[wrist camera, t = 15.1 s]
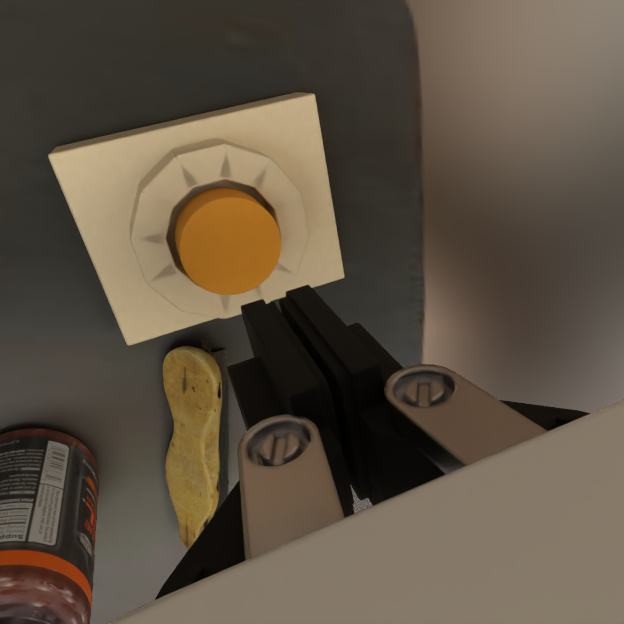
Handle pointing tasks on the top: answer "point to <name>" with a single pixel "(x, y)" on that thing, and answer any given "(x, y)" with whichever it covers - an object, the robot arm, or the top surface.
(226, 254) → the button
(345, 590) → the robot arm
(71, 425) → the top surface
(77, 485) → the supplement bottle
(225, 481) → the tan elongated lumpy piece
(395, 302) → the top surface
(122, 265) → the button box
